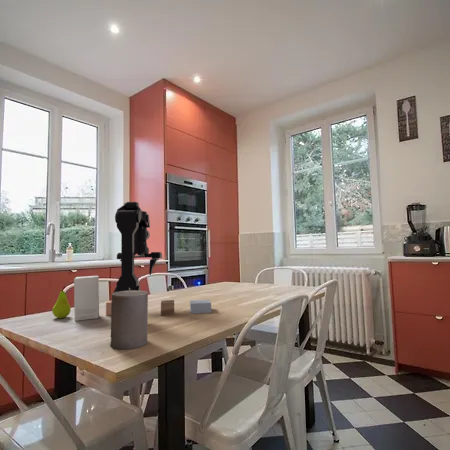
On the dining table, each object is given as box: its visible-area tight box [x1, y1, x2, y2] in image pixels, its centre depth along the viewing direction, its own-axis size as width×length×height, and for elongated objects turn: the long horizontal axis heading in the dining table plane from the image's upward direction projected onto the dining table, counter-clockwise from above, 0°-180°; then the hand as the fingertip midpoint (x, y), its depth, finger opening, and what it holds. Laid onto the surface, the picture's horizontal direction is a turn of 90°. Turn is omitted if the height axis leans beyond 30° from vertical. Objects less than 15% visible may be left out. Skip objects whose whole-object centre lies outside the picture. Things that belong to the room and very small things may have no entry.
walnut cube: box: [160, 299, 175, 317], centre depth 120 cm, size 5×5×5 cm
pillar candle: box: [109, 288, 149, 350], centre depth 83 cm, size 10×10×15 cm
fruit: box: [51, 285, 72, 319], centre depth 117 cm, size 6×6×12 cm
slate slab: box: [189, 299, 212, 314], centre depth 125 cm, size 8×8×4 cm
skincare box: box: [73, 275, 100, 322], centre depth 116 cm, size 8×7×16 cm
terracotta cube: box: [104, 300, 111, 317], centre depth 122 cm, size 5×5×5 cm
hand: (139, 275), depth 135 cm, fingers open, 9 cm apart
